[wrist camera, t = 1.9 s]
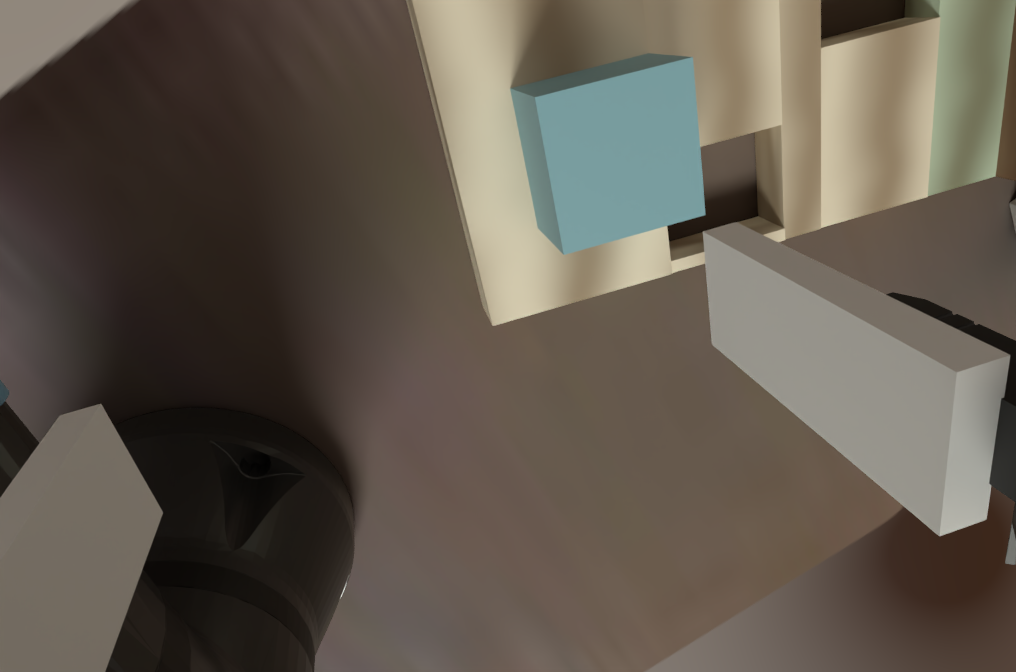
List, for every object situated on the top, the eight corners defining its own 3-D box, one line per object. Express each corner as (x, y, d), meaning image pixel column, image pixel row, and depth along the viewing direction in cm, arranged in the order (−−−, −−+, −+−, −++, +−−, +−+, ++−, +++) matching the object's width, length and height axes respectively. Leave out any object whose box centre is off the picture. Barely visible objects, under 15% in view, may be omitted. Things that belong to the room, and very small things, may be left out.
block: (537, 228, 30) (563, 254, 26) (509, 88, 27) (534, 97, 24) (663, 193, 31) (705, 215, 27) (648, 53, 28) (692, 56, 24)
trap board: (482, 306, 34) (502, 345, 30) (406, -1, 28) (417, -6, 23) (978, 164, 37) (1060, 181, 32) (1011, -143, 30) (1117, -171, 26)
